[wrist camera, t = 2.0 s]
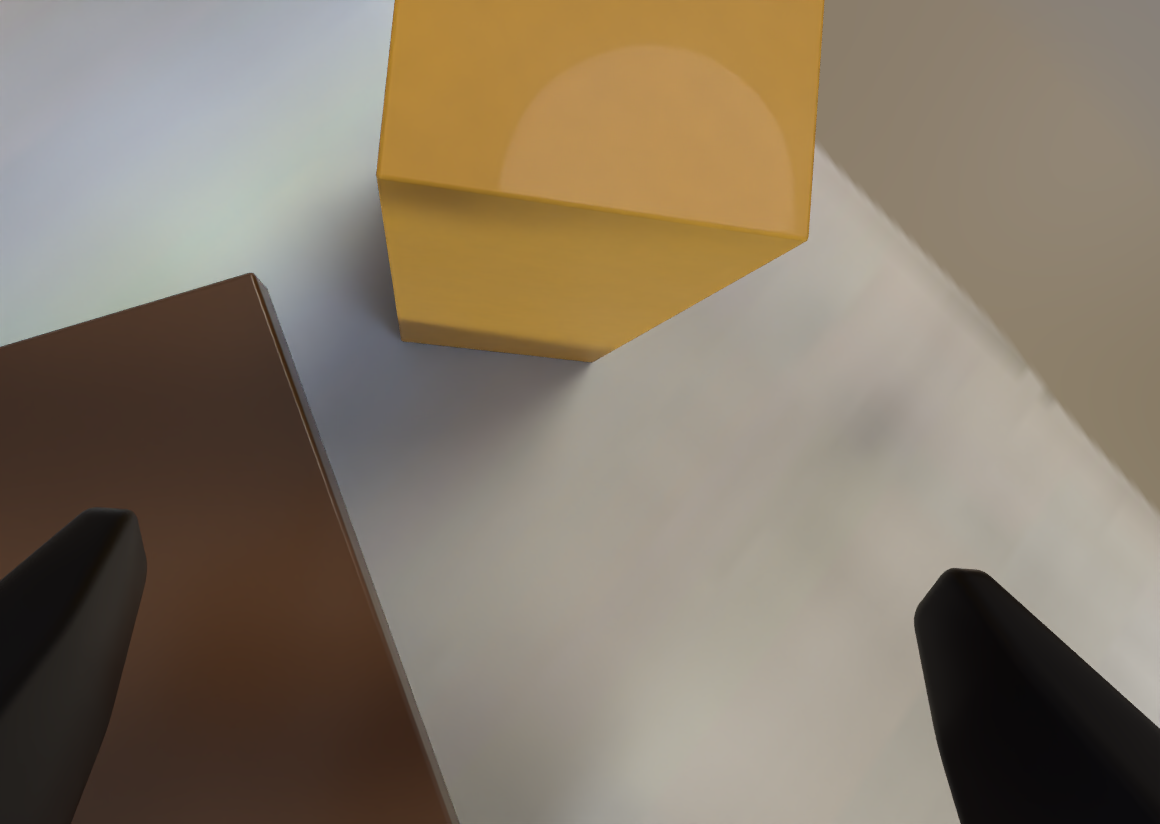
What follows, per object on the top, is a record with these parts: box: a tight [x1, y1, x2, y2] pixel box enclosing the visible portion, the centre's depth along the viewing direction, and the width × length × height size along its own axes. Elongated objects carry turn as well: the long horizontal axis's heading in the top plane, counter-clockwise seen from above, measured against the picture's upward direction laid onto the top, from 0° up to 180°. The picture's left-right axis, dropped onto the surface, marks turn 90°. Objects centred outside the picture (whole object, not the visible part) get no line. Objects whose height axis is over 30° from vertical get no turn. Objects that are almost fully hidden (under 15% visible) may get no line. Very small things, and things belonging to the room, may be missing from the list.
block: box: [376, 0, 824, 362], centre depth 16 cm, size 5×5×12 cm
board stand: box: [0, 273, 459, 824], centre depth 17 cm, size 18×14×4 cm
